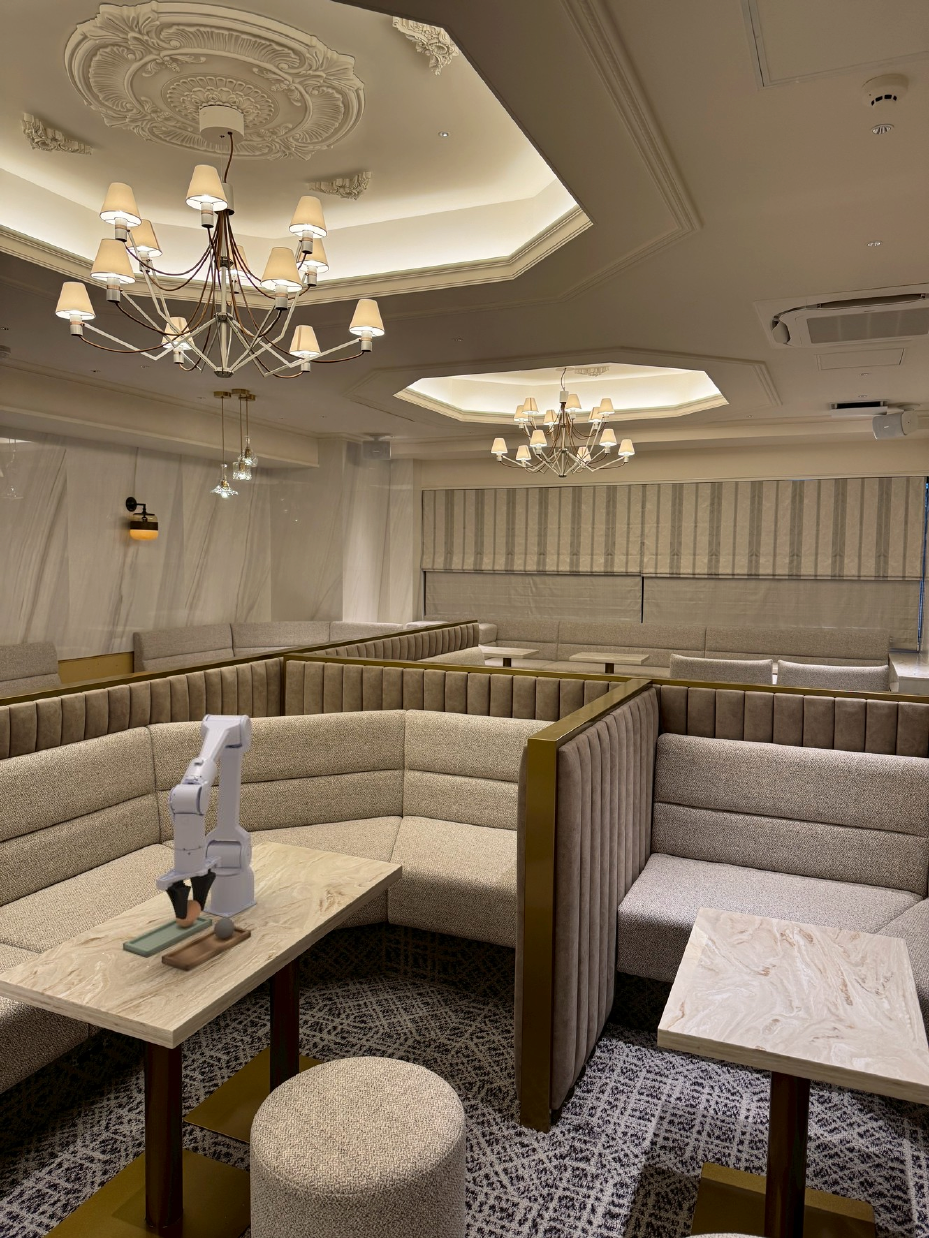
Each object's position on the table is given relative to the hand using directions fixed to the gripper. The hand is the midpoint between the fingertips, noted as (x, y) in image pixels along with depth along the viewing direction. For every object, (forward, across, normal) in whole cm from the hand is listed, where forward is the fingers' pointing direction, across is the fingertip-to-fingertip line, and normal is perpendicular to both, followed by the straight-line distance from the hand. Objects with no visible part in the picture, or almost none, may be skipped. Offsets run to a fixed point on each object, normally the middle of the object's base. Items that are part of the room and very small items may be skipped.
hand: (190, 913), depth 158 cm
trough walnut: (+9, +4, 0) cm, 10 cm away
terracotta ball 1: (-1, 0, 0) cm, 1 cm away
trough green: (+9, +4, +11) cm, 15 cm away
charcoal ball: (+6, +9, 0) cm, 11 cm away
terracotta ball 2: (+6, +9, +11) cm, 16 cm away
